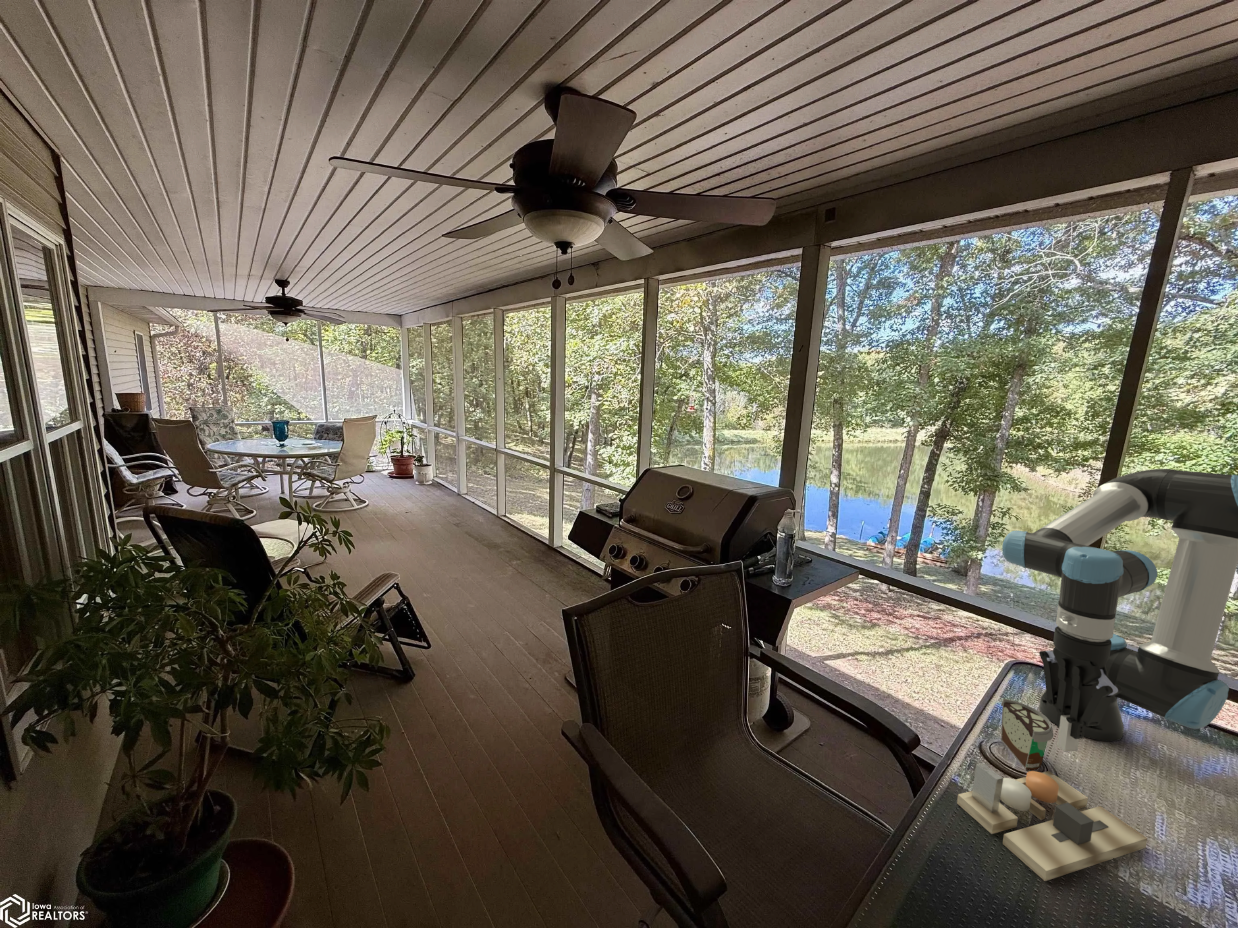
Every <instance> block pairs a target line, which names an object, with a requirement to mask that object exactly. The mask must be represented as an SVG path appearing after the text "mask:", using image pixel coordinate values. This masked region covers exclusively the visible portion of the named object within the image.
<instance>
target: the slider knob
mask: <svg viewBox="0 0 1238 928" xmlns="http://www.w3.org/2000/svg"><path fill="white" fill-rule="evenodd" d="M1053 820H1054V821H1053V826H1054V827H1056V828H1057V829H1058V830H1060V831H1061V832H1062V833H1063V834H1065V835H1066V836H1067V837H1069V838H1070V839H1071V840H1073V841H1074V842H1075V843H1076V844H1078V845H1079V844H1082V843H1085V842H1089V841H1091V835H1092V828H1093V822H1094V821H1093V820H1092V819H1090V818H1089V817H1087V816H1086V815H1085V814H1083V813H1082V812H1081V811H1080V810H1079V809H1076V808H1075V807H1073V806H1072V805H1070V804H1069V803H1064V804H1061V805H1057V804H1056V805H1055V808H1054V815H1053Z"/></svg>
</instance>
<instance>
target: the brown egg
mask: <svg viewBox="0 0 1238 928" xmlns="http://www.w3.org/2000/svg"><path fill="white" fill-rule="evenodd" d="M1025 777H1026V784H1025V786H1027V787H1028V788H1029V790H1030V791H1031V797H1033V798H1035V799H1036V800H1038V801H1041V802H1043V803H1047V804H1056V803H1055V802H1056V801H1057V797H1058V790H1059V785H1058V784H1057V782H1056V781H1055V780H1054V779H1052V778H1051V777H1049V776H1047V775H1045V774H1043V772H1040V771H1037V770H1032V771H1029V770H1028V771H1027V772H1026V776H1025Z"/></svg>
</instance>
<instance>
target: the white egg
mask: <svg viewBox="0 0 1238 928" xmlns="http://www.w3.org/2000/svg"><path fill="white" fill-rule="evenodd" d="M1002 778H1003V784H1002V790H1001V796H1000V801H1001V802H1003V803H1004V804H1005V805H1006V806H1007V807H1009V808H1012V809H1013V810H1017V811H1022V812H1027V811H1029V808H1030V802H1031V799H1032V795H1031V791H1030V790H1029V788H1028V787H1027V786H1025V785H1024V784H1022V783H1021V782H1019V781H1017V780H1016V779H1014V778H1010V777H1002Z"/></svg>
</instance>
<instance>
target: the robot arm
mask: <svg viewBox="0 0 1238 928" xmlns="http://www.w3.org/2000/svg"><path fill="white" fill-rule="evenodd" d="M1141 518H1153V519H1160V520H1164V521H1169V522H1170V521H1171V522H1172V525H1171V530H1172V531H1173V533H1175V534H1176V536H1178V543H1177V545H1176V549H1175V553H1174V557H1173V560H1172V563H1171V568H1170V572H1169V575H1168V578H1167V581H1166V582H1167V583H1166V585H1165V589H1164V592H1163V597H1162V600H1161V604H1160V608H1159V611H1158V614H1157V618H1156V622H1155V626H1154V630H1153V633H1152V636H1151V640H1150V641H1149V642H1148V641H1147V642H1145V643H1142V644H1139V645H1138V647H1137V650H1133V649H1132V648H1129V647H1127V646H1128V643H1127V641H1126V639H1125V638H1123V637H1121V636H1120V635H1118V634H1116V633H1114V632H1115V622H1116V615H1117V609H1118V608H1117V607H1118V601H1119V598H1121V597H1124V596H1127V595H1131V594H1134V593H1136V594H1137V593H1140V592H1142V591H1144V590H1146V589H1147V588H1148V587H1151V586H1152V585H1153V584H1154V583H1155V582H1156V580H1157V578H1158V569H1157V566H1156V565H1155V563H1154V562H1153V560H1151V558H1150V557H1148V556H1146V555H1145V554H1143V553H1141V552H1138V551H1135V550H1129V549H1121V550H1120V549H1117V550H1114V551H1112V550H1108V549H1104V548H1099V547H1098V548H1097V547H1096V546H1095V547H1094V546H1090V545H1092V544H1093V543H1095V542H1097V541H1098V540H1100V538H1103V537H1104V536H1106V535H1107V534H1108V533H1110V532H1112V531H1113V530H1115V529H1116V528H1117V527H1119V526H1120V525H1122V524H1123V523H1125V522H1132V521H1136V520H1139V519H1141ZM1001 549H1002V550H1001V551H1002V556H1003V558H1004V559H1005V560H1006V562H1007V563H1010V564H1013V565H1015V566H1019V567H1022V568H1023V569H1029V570H1032V571H1036V572H1039V573H1044V574H1046V575H1047V574H1048V575H1051V576H1054V577H1058V578H1061V579H1060V580H1061V581H1060V589H1059V596H1058V597H1059V598H1058V605H1057V612H1056V620H1055V621H1056V622H1055V624H1056V627H1055V628H1054V635H1053V641H1052V642H1053V643H1052V644H1053V646H1054V647H1053V648H1052V649H1051V650H1040V651H1039V652H1038V653H1039V657H1040V659H1041V662H1042V665H1043V673H1044V683H1045V691H1044V692H1043V694H1042V695H1041V697H1040V700H1039V705H1038V708H1039V712H1040V713H1042V714H1043V715H1044V716H1046V717H1047V719H1048V720H1049V721H1050V722H1052V723H1053V724H1055V725H1056V728H1059V730H1058V733H1057V735H1058V736H1057V744H1056V747H1057V748H1058V749H1060V750H1061V751H1062V752H1064V753H1068V752H1078V749H1079V743H1080V740H1082V739H1083V738H1084V737H1085V738H1088V739H1092V740H1095V741H1104V742H1115V741H1120V740H1121V739H1122V738H1123V736H1124V729H1125V725H1124V722H1123V720H1122V719H1123V718H1122V716H1121V711H1120V707H1119V705H1118V699H1119V700H1122V701H1124V702H1126V703H1129V704H1132V705H1134V706H1136V707H1139V708H1141V709H1144V710H1146V711H1147V712H1150V713H1152V714H1155V715H1157V716H1160V717H1162V718H1164V720H1165V721H1168V722H1169V721H1170V722H1174V723H1175V724H1179V725H1181V726H1184V727H1187V728H1188V729H1189V728H1190V729H1194V730H1196V729H1197V730H1198V729H1202V728H1205V727H1207V726H1208V725H1210V724H1211V723H1212V722H1213V721H1214V720H1215V719H1216V717H1217V716H1218V715H1219V713H1220V712H1221V711H1222V709H1223V707H1224V705H1225V704H1226V701H1227V700H1228V697H1229V691H1230V688H1229V685H1228V684H1227V683H1226V682H1225V681H1223V680H1222V679H1218V678H1219V675H1220V669H1219V668H1218V667H1217V665H1215V664H1214V662H1213V661H1212V655H1213V651H1214V648H1215V645H1216V641H1217V637H1218V634H1219V631H1220V627H1221V624H1222V620H1223V616H1224V613H1225V610H1226V607H1227V606H1226V605H1227V601H1228V599H1229V596H1230V592H1231V588H1232V584H1233V581H1234V578H1235V574H1236V571H1237V568H1238V475H1237V474H1227V473H1226V474H1223V473H1213V472H1201V471H1190V470H1181V469H1179V470H1178V469H1171V468H1154V469H1146V470H1140V471H1136V472H1131V473H1128V474H1124V475H1121V476H1117V477H1115V478H1112V479H1111V480H1109V481H1107V482H1105V483H1103V484H1101V485H1100V486H1098V487H1097V488H1095V490H1094V491H1093V495H1092V496H1091V497H1089V498H1088V499H1086V500H1084V501H1083V502H1081V503H1080V504H1078V505H1076V506H1074V507H1073V508H1072V509H1070V510H1068V511H1067V512H1065V513H1063V514H1061V515H1060V516H1058V517H1057V518H1055V519H1053V520H1052V521H1050V522H1049V523H1047V524H1046V525H1044V526H1042V527H1040V528H1038V529H1037V530H1036V531H1034V532H1028V531H1027V530H1011V531H1010V532H1009V533H1007V535H1006V536H1005V538H1004V539H1003V542H1002V546H1001Z"/></svg>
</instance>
